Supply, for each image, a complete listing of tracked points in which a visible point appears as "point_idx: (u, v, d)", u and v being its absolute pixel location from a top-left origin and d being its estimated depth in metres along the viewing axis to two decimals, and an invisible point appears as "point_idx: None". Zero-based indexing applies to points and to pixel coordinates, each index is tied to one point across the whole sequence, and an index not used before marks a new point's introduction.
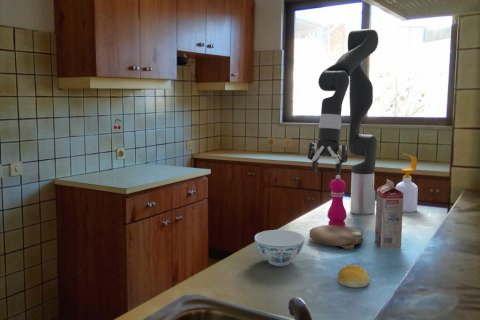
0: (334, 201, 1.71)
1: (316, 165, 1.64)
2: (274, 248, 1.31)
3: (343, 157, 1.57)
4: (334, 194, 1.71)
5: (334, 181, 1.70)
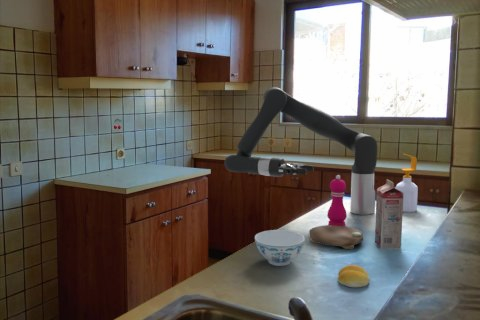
0: (334, 201, 1.71)
1: (307, 168, 1.81)
2: (274, 248, 1.31)
3: (288, 174, 1.74)
4: (334, 194, 1.71)
5: (334, 181, 1.70)
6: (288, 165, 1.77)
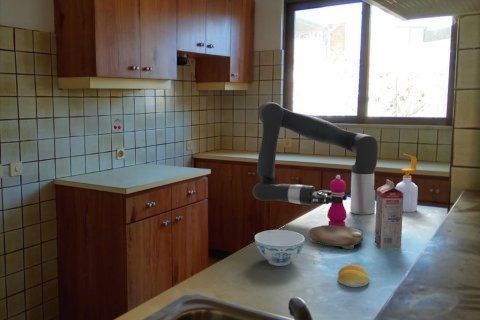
0: None
1: None
2: (274, 248, 1.31)
3: None
4: (334, 194, 1.71)
5: (334, 181, 1.70)
6: (321, 193, 1.73)
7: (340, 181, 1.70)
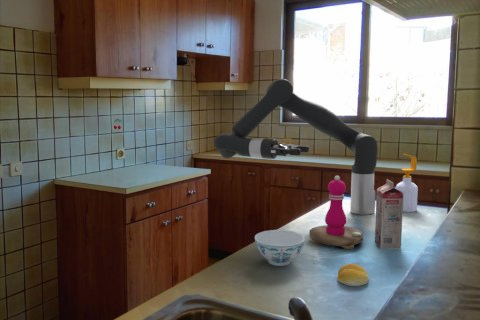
0: (333, 205, 1.54)
1: (302, 149, 1.69)
2: (274, 248, 1.31)
3: None
4: (333, 197, 1.53)
5: (333, 182, 1.53)
6: (281, 146, 1.65)
7: (339, 182, 1.52)
